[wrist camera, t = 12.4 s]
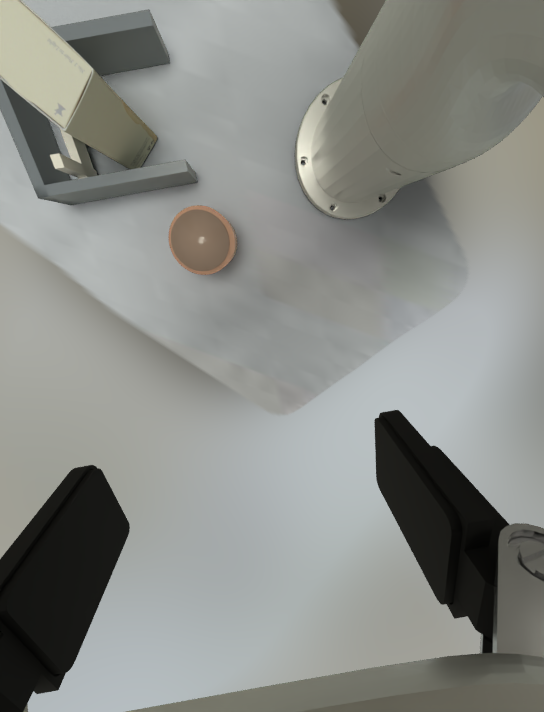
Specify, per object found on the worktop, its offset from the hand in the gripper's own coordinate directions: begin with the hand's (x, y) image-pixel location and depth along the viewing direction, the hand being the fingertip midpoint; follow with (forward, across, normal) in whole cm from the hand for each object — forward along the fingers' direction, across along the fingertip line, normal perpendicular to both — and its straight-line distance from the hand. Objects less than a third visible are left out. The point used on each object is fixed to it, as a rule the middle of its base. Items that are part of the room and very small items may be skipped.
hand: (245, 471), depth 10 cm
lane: (+28, +10, -20) cm, 36 cm away
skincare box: (+28, +10, -20) cm, 36 cm away
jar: (+28, +3, -8) cm, 30 cm away
